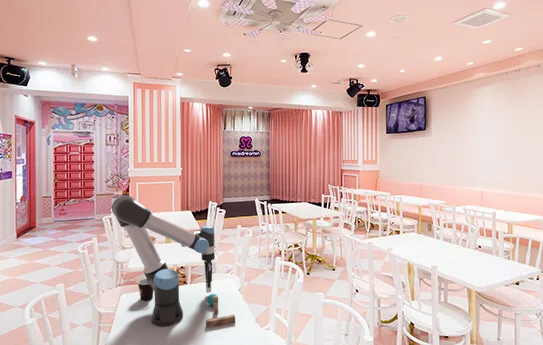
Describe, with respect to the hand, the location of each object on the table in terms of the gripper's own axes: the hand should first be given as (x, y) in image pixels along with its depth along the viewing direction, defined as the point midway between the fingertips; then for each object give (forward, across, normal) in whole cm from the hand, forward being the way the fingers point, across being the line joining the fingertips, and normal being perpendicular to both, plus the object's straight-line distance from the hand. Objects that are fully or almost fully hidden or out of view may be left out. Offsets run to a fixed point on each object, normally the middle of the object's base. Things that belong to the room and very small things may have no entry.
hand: (208, 291), depth 187 cm
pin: (+2, -22, 0) cm, 22 cm away
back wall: (+2, -34, 0) cm, 34 cm away
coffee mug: (+2, +7, +34) cm, 35 cm away
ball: (-1, -13, 0) cm, 13 cm away
